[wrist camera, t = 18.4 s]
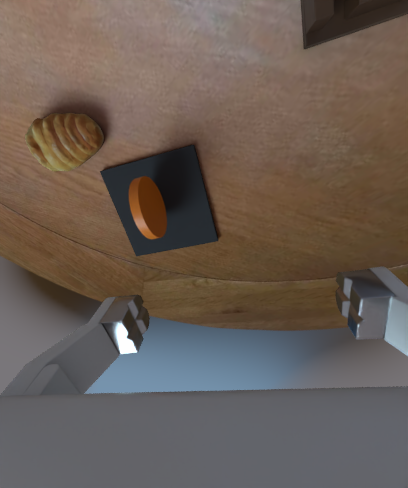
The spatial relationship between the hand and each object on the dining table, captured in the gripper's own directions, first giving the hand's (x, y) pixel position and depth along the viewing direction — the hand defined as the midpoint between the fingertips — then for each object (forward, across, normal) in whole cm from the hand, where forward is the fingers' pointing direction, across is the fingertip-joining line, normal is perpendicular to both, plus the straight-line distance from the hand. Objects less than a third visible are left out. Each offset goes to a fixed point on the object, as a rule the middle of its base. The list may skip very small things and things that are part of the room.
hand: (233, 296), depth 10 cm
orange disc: (+20, +11, +1) cm, 23 cm away
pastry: (+25, +21, -9) cm, 34 cm away
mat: (+24, +11, +2) cm, 27 cm away
